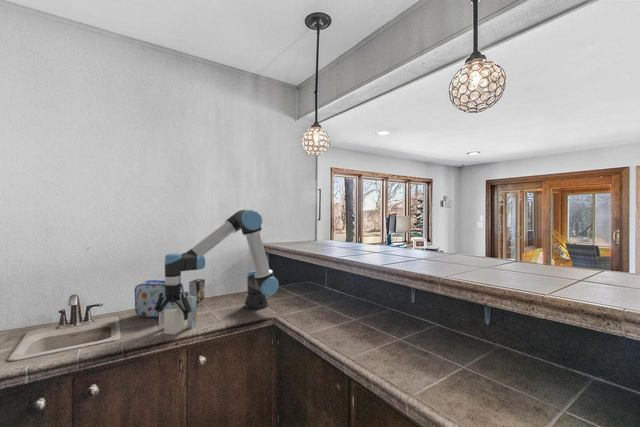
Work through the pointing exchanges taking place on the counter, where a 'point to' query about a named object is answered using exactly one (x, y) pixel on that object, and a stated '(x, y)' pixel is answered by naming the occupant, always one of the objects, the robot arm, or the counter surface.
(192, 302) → the housing
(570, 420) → the counter surface
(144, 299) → the lunch box
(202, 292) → the coffee box
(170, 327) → the plug
